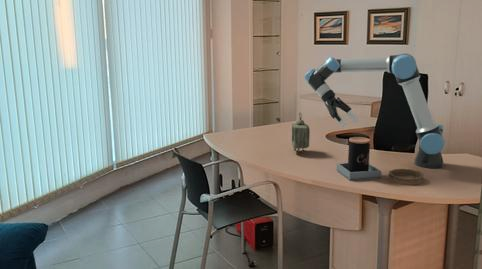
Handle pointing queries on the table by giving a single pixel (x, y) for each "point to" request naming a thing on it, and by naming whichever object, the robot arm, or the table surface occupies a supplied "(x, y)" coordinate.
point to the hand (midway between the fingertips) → (350, 123)
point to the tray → (370, 174)
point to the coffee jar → (358, 154)
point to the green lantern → (300, 135)
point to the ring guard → (406, 180)
